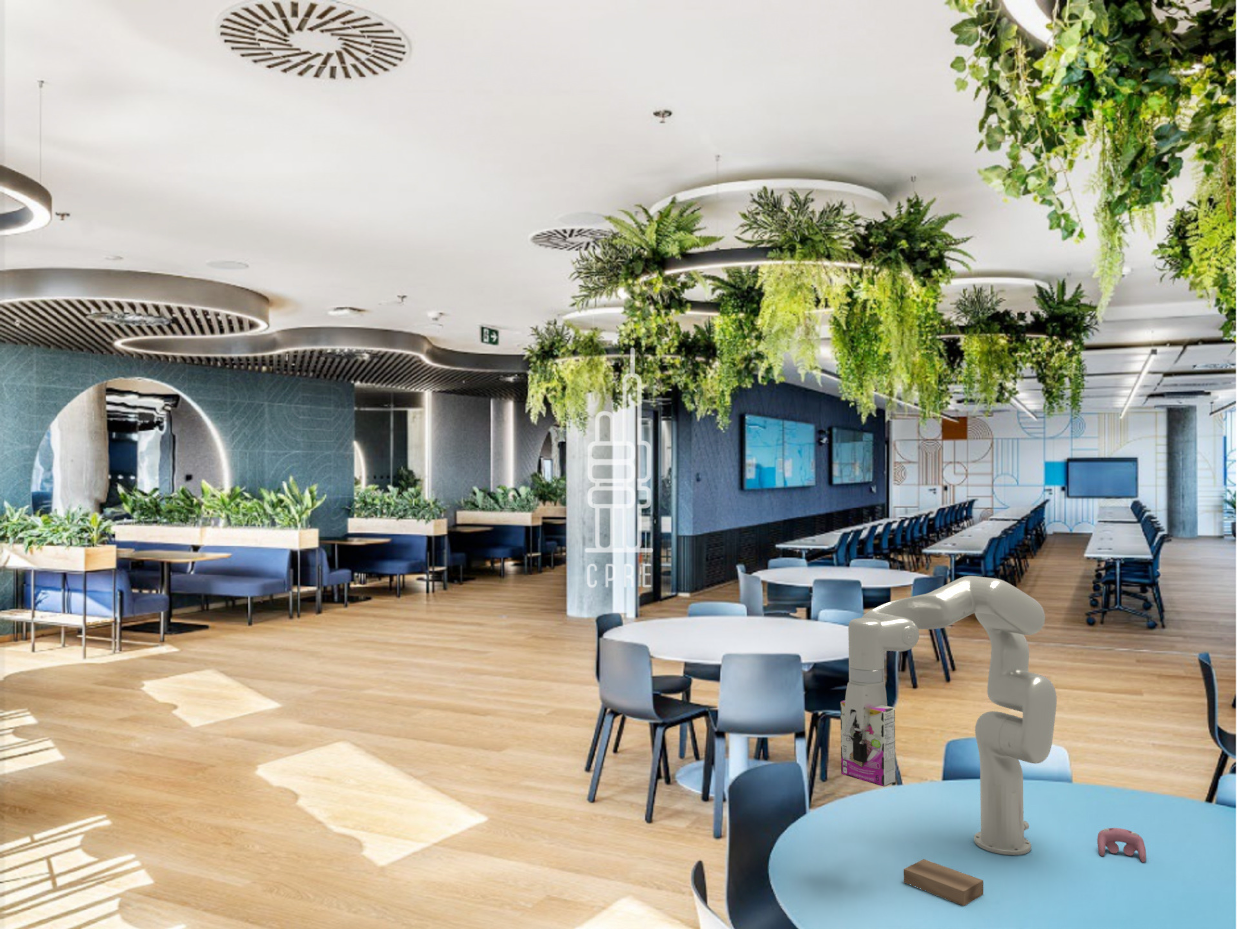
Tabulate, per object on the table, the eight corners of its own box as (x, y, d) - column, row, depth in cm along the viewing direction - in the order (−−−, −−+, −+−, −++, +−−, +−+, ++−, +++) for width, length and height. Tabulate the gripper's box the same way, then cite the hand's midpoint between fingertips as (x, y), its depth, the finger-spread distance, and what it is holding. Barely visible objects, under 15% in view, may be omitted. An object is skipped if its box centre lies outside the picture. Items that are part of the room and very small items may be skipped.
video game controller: (1145, 864, 208) (1143, 832, 211) (1147, 862, 204) (1145, 830, 207) (1097, 857, 212) (1095, 826, 215) (1098, 855, 208) (1097, 823, 211)
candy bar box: (839, 775, 198) (838, 701, 199) (852, 770, 202) (851, 697, 202) (884, 788, 190) (882, 710, 190) (896, 782, 193) (895, 706, 194)
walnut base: (923, 872, 200) (923, 858, 200) (983, 894, 189) (983, 880, 189) (903, 882, 195) (903, 868, 195) (963, 906, 184) (963, 891, 184)
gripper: (874, 667, 205) (876, 746, 204) (828, 678, 194) (829, 762, 193) (903, 672, 199) (904, 754, 199) (857, 684, 188) (859, 771, 188)
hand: (867, 757), depth 196 cm, fingers closed on candy bar box, 5 cm apart
